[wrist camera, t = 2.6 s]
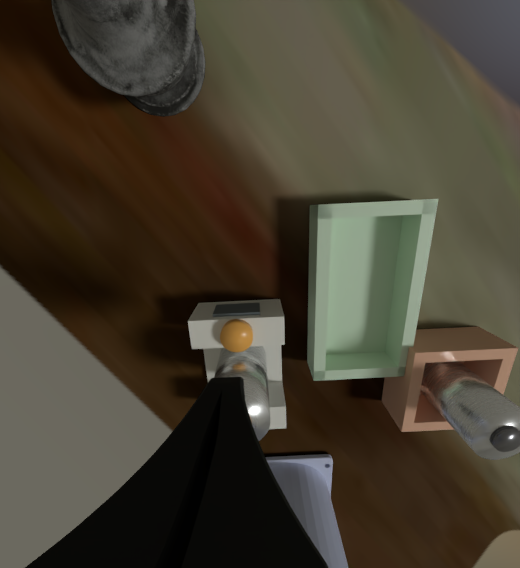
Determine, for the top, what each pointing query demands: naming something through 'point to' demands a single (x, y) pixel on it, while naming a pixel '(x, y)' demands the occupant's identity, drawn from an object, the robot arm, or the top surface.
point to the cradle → (243, 340)
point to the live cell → (249, 382)
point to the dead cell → (473, 409)
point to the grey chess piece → (137, 49)
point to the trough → (366, 286)
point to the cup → (444, 348)
